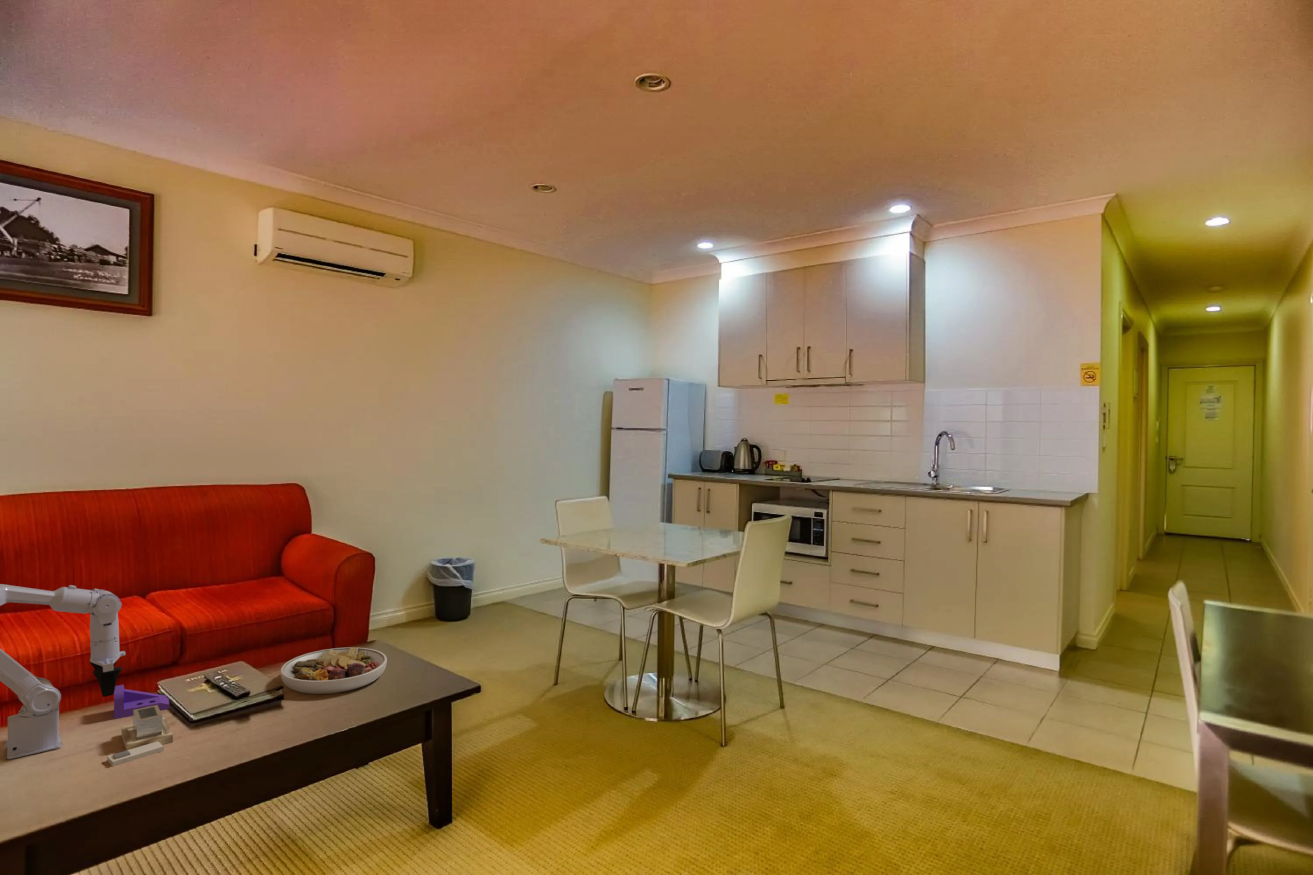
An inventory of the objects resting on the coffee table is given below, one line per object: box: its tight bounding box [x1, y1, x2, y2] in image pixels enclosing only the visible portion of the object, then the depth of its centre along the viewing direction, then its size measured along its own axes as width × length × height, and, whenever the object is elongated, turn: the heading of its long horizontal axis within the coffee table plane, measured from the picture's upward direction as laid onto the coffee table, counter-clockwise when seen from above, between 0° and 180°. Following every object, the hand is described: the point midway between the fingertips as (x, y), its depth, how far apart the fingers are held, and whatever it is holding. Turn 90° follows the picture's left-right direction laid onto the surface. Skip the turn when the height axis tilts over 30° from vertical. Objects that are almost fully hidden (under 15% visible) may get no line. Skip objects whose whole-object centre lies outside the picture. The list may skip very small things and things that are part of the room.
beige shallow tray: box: [121, 717, 174, 751], centre depth 172 cm, size 9×12×2 cm
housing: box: [132, 705, 163, 741], centre depth 172 cm, size 5×8×5 cm, turn 43°
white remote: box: [106, 741, 165, 767], centre depth 164 cm, size 4×10×2 cm, turn 143°
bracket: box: [113, 684, 170, 720], centre depth 189 cm, size 12×7×7 cm, turn 128°
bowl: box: [280, 646, 388, 695], centre depth 215 cm, size 30×30×8 cm
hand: (106, 690), depth 176 cm, fingers open, 7 cm apart
